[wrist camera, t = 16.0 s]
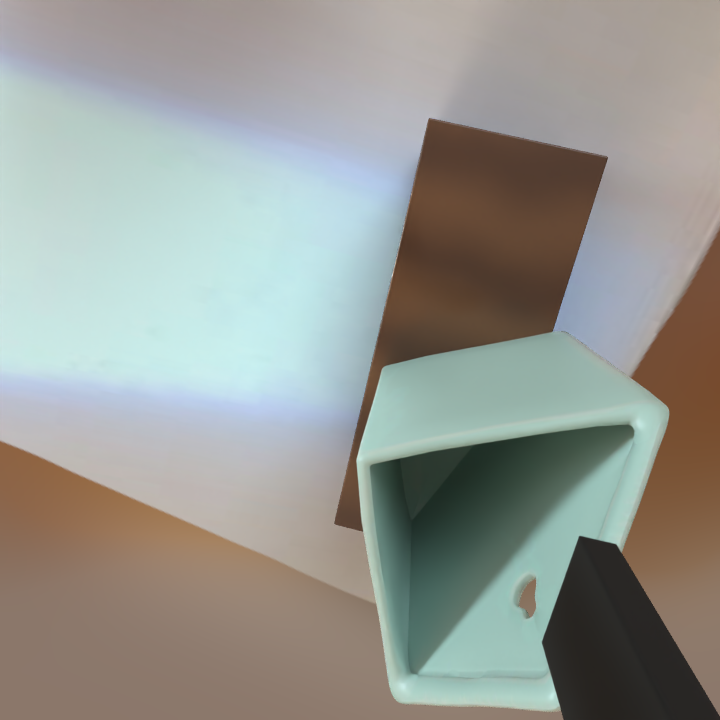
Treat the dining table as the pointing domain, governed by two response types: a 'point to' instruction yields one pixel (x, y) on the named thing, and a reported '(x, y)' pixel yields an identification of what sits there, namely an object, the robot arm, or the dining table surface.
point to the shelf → (478, 253)
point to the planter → (493, 506)
